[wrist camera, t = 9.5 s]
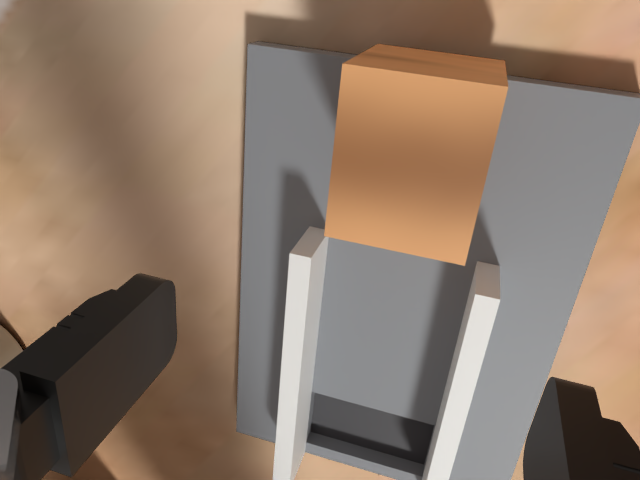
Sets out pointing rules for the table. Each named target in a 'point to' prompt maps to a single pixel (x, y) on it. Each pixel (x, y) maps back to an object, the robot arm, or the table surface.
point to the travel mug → (8, 347)
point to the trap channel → (412, 282)
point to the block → (413, 149)
